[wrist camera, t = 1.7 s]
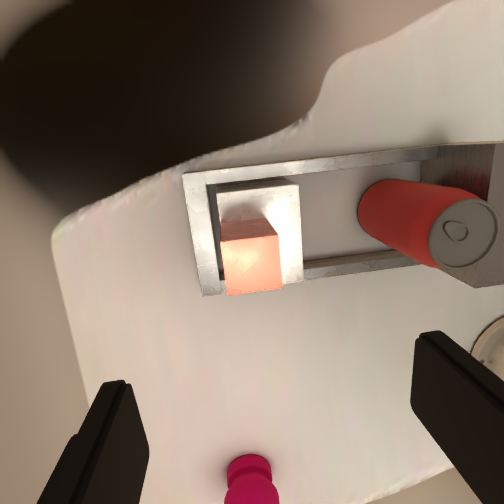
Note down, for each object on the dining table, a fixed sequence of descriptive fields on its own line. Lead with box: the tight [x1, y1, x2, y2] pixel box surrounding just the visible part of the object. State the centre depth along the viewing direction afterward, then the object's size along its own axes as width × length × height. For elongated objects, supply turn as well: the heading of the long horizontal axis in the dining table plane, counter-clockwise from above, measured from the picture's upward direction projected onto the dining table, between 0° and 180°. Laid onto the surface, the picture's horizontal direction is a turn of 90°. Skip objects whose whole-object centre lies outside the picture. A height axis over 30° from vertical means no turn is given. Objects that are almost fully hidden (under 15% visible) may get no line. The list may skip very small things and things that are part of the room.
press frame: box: [182, 141, 504, 296], centre depth 29 cm, size 28×12×9 cm, turn 96°
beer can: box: [358, 179, 500, 271], centre depth 28 cm, size 7×7×12 cm
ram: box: [216, 179, 304, 296], centre depth 27 cm, size 7×9×12 cm
